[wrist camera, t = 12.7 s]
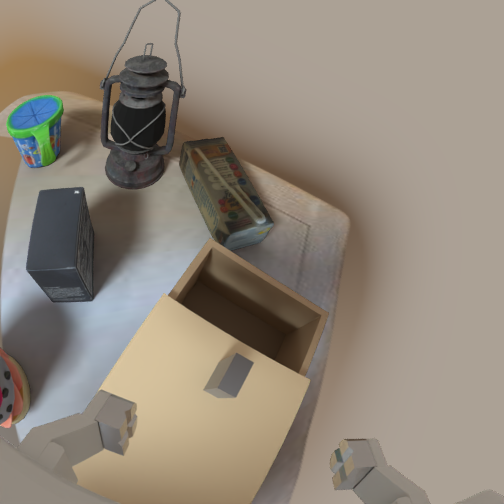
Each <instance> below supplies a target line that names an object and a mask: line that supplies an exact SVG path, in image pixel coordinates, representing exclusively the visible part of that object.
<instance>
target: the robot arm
mask: <svg viewBox="0 0 504 504" xmlns="http://www.w3.org/2000/svg"><path fill="white" fill-rule="evenodd" d="M136 410H137V403H135V402H132V401H129V400H127V399H124V398H122V397H119V396H117V395H114V394H112V393H109V392H107V391H104V390H102V389H101V390H99V391H98V392H97V394H96V395H95V396H94V398H93V399H92V401H91V402H90V403H89V405H88V406H87V408H86V409H85V411H84V412H83V413H82V414H80V413H77V414H75V415H72V416H69V417H66V418H63V419H60V420H57V421H54V422H51V423H47V424H44V425H41V426H38V427H34V428H32V429H31V431H30V432H29V433H28V434H27V436H26V437H25V438H24V439H23V441H22V442H21V443H20V445H19V446H18V447H17V448H16V447H15V446H13V445H12V444H10V443H9V442H8V441H7V440H5V439H4V438H3V437H2V436H0V504H121V503H119V502H116V501H114V500H111V499H109V498H106V497H104V496H101V495H99V494H97V493H95V492H92V491H90V490H88V489H86V488H84V487H82V486H80V485H78V484H77V482H78V479H77V476H76V474H75V472H74V470H73V468H72V467H73V466H75V465H77V464H79V463H80V462H82V461H84V460H86V459H88V458H90V457H92V456H93V455H95V454H97V453H99V452H101V451H102V450H104V449H106V450H109V451H111V452H114V453H117V454H119V455H122V456H124V454H125V452H126V450H127V448H128V446H129V438H131V437H133V435H134V433H135V430H136V426H137V415H136V414H135V412H136ZM339 447H340V448H338V449H337V450H335V451H334V452H333V454H332V456H331V459H330V469H331V471H332V472H333V473H335V475H334V476H333V478H332V479H333V484H334V489H335V490H349V489H353V491H354V492H355V493H356V494H357V496H358V497H359V498H360V499H361V500H362V501H363V502H364V503H365V504H430V502H429V499H428V497H427V494H426V492H425V491H424V490H423V489H421V488H420V487H418V486H417V485H416V484H415V483H413V482H412V481H410V480H409V479H408V478H406V477H405V476H404V475H402V474H401V473H400V472H398V471H397V470H396V469H395V468H393V467H392V466H388V465H387V462H386V460H385V457H384V454H383V452H382V449H381V447H380V444H379V442H378V440H377V439H344V440H342V441H341V442H340V444H339ZM103 448H104V449H103ZM455 504H504V496H502V495H501V494H499V493H497V492H495V491H493V490H485V491H482V492H480V493H478V494H476V495H474V496H471V497H469V498H467V499H464V500H462V501H460V502H457V503H455Z"/></svg>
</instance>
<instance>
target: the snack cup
mask: <svg viewBox="0 0 504 504" xmlns="http://www.w3.org/2000/svg"><path fill="white" fill-rule="evenodd" d="M63 111H64V109H63V103H62V100H61V99H60V98H58V97H56V96H52V95H44V96H38V97H35V98H32V99H30V100H28V101H26V102H24V103H22V104H21V105H19V106H18V107H17V108H15V109H14V110H13V111H12V113H11V114H10V115H9V117H8V119H7V124H6V125H7V130H8V132H9V134H10V135H11V136H12V137H13V139H14V141H15V144H16V146H17V147H18V150H19V152H20V154H21V156H22V158H23V160H24V161H25V163H26V164H27V165H28V166H29V167H31V168H32V167H34V168H36V167H42V166H47V165H49V164H51V163H53V162H54V161H55V159H56V157H57V155H58V153H59V152H60V134H61V116H62V114H63Z"/></svg>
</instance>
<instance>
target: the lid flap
mask: <svg viewBox="0 0 504 504" xmlns="http://www.w3.org/2000/svg"><path fill="white" fill-rule="evenodd" d="M310 381H311V380H310V379H308V378H306V377H304V376H302V375H300V374H298V373H296V372H294V371H293V370H291V369H289V368H287V367H285V366H283V365H281V364H280V363H278V362H276V361H274V360H272V359H270V358H269V357H267V356H265V355H263V354H261V353H260V352H258V351H256V350H254V349H253V348H251V347H249V346H247V345H246V344H244V343H242V342H241V341H239V340H237V339H236V338H234V337H232V336H230V335H229V334H227V333H225V332H224V331H222V330H221V329H219V328H217V327H216V326H214V325H212V324H211V323H209V322H208V321H206V320H204V319H203V318H201V317H200V316H198V315H197V314H195V313H193V312H192V311H190V310H189V309H187V308H186V307H184V306H183V305H181V304H180V303H178V302H177V301H175V300H174V299H172V298H171V297H169V296H168V295H166V294H165V293H164V294H163V295H162V297H161V298H160V299H159V301H158V302H157V304H156V305H155V307H154V308H153V309H152V311H151V312H150V314H149V315H148V316H147V318H146V319H145V321H144V322H143V324H142V325H141V327H140V328H139V329H138V331H137V332H136V334H135V335H134V337H133V338H132V340H131V341H130V343H129V344H128V346H127V347H126V349H125V350H124V352H123V353H122V355H121V356H120V358H119V359H118V361H117V362H116V364H115V365H114V367H113V368H112V370H111V371H110V373H109V374H108V376H107V377H106V379H105V381H104V382H103V384H102V385H101V387H100V388H99V390H101V389H102V390H104V391H107V392H109V393H112V394H114V395H117V396H119V397H122V398H124V399H127V400H129V401H132V402H135V403H137V410H136V412H135V414H136V415H137V426H136V430H135V433H134V435H133V437H131V438H129V446H128V448H127V450H126V452H125V454H124V456H122V455H119V454H117V453H114V452H111V451H109V450H106V449H104V448H103V449H104V450H102V451H101V452H99V453H97V454H95V455H93V456H92V457H90V458H88V459H86V460H84V461H82V462H80V463H79V464H77V465H75V466H73V467H72V468H73V470H74V472H75V474H76V476H77V479H78V482H77V484H78V485H80V486H82V487H84V488H86V489H88V490H90V491H92V492H95V493H97V494H99V495H101V496H104V497H106V498H109V499H111V500H114V501H116V502H119V503H121V504H251V502H252V500H253V499H254V497H255V495H256V494H257V492H258V490H259V488H260V486H261V485H262V483H263V481H264V479H265V477H266V475H267V473H268V472H269V470H270V468H271V466H272V464H273V462H274V460H275V458H276V456H277V454H278V452H279V450H280V448H281V446H282V444H283V442H284V440H285V438H286V436H287V434H288V431H289V429H290V427H291V425H292V423H293V421H294V418H295V416H296V414H297V412H298V409H299V407H300V405H301V402H302V400H303V398H304V395H305V393H306V391H307V388H308V386H309V383H310ZM99 390H98V391H99ZM96 394H97V393H96Z"/></svg>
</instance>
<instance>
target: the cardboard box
mask: <svg viewBox="0 0 504 504" xmlns="http://www.w3.org/2000/svg"><path fill="white" fill-rule="evenodd" d="M168 296H169V297H171V298H172V299H174V300H175V301H177V302H178V303H180V304H181V305H183V306H184V307H186V308H187V309H189V310H190V311H192V312H193V313H195V314H197V315H198V316H200V317H201V318H203V319H204V320H206V321H208V322H209V323H211V324H212V325H214V326H216V327H217V328H219V329H221V330H222V331H224V332H225V333H227V334H229V335H230V336H232V337H234V338H236V339H237V340H239V341H241V342H242V343H244V344H246V345H247V346H249V347H251V348H253V349H254V350H256V351H258V352H260V353H261V354H263V355H265V356H267V357H269V358H270V359H272V360H274V361H276V362H278V363H280V364H281V365H283V366H285V367H287V368H289V369H291V370H293V371H294V372H296V373H298V374H300V375H302V376H304V377H305V375H306V373H307V370H308V368H309V365H310V363H311V360H312V358H313V355H314V353H315V350H316V348H317V345H318V342H319V340H320V337H321V334H322V332H323V329H324V326H325V323H326V320H327V318H328V315H329V313H328V312H326V311H325V310H323V309H321V308H320V307H318V306H317V305H315V304H313V303H312V302H310V301H309V300H307V299H305V298H304V297H302V296H301V295H299V294H298V293H296V292H294V291H293V290H291V289H290V288H288V287H286V286H285V285H283V284H282V283H280V282H278V281H277V280H275V279H274V278H272V277H271V276H269V275H267V274H266V273H264V272H263V271H261V270H260V269H258V268H256V267H255V266H253V265H252V264H250V263H249V262H247V261H245V260H244V259H242V258H241V257H239V256H238V255H236V254H234V253H233V252H231V251H230V250H228V249H227V248H225V247H223V246H222V245H220V244H219V243H217V242H216V241H214V240H213V239H211V238H209V240H208V241H207V242H206V244H205V245H204V247H203V248H202V249H201V251H200V252H199V253H198V255H197V256H196V257H195V259H194V260H193V261H192V263H191V264H190V266H189V267H188V268H187V270H186V271H185V272H184V274H183V275H182V277H181V278H180V279H179V281H178V282H177V284H176V285H175V286H174V288H173V289H172V291H171V292H170V293H169V295H168Z"/></svg>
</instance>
